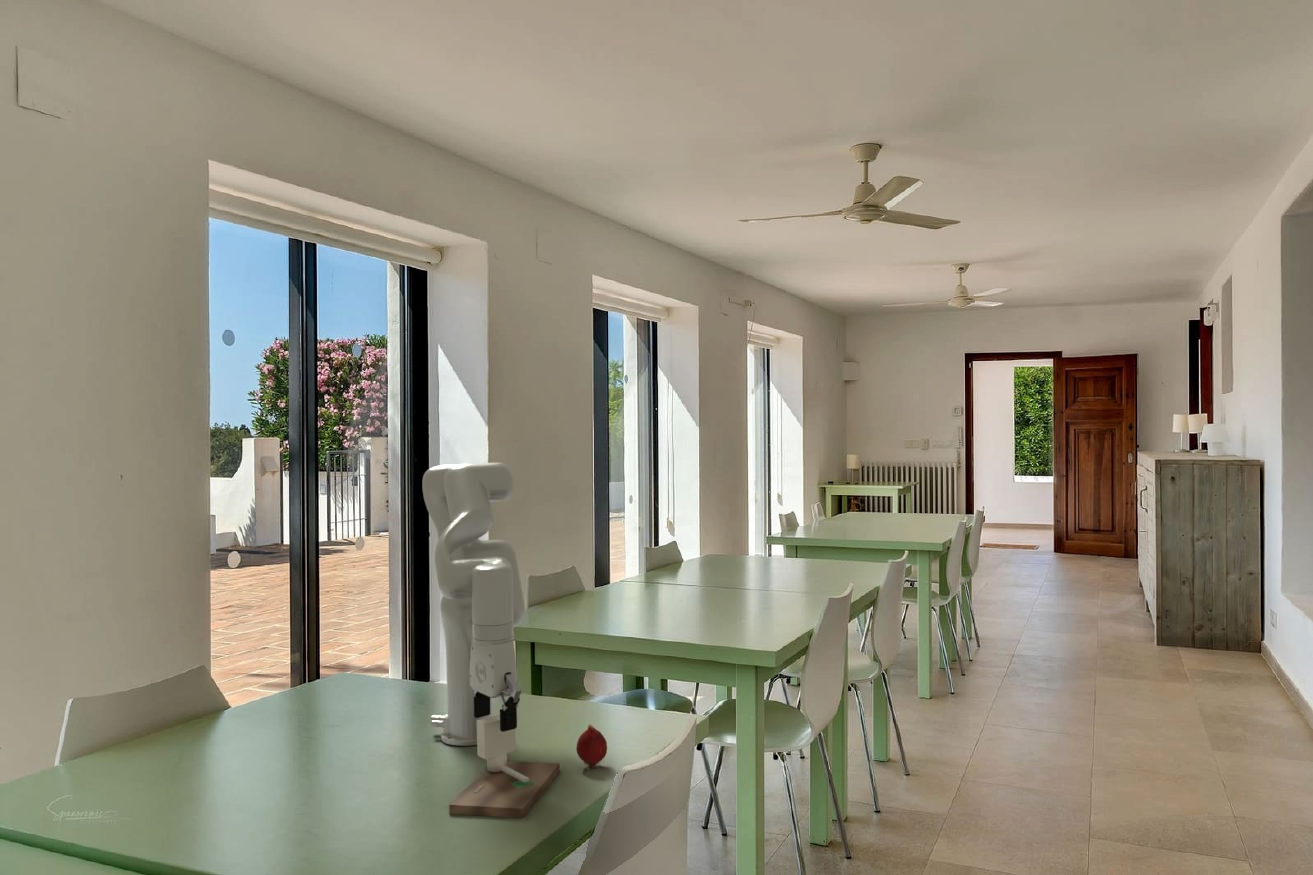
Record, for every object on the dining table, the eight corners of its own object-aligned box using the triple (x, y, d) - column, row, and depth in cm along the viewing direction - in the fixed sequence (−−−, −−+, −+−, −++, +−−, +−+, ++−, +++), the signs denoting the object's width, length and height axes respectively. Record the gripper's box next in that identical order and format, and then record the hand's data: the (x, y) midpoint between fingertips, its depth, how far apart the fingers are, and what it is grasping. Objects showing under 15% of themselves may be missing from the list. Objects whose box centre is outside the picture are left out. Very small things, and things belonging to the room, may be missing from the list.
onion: (612, 762, 175) (611, 721, 175) (600, 773, 169) (599, 730, 169) (584, 760, 177) (583, 718, 177) (572, 770, 171) (570, 728, 171)
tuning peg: (476, 770, 167) (475, 720, 167) (507, 761, 172) (506, 712, 172) (510, 789, 158) (509, 736, 158) (542, 779, 162) (540, 727, 162)
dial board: (449, 813, 153) (449, 804, 153) (494, 768, 173) (494, 759, 173) (523, 817, 150) (523, 808, 150) (559, 771, 171) (559, 762, 171)
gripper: (453, 626, 173) (455, 715, 173) (498, 643, 159) (500, 740, 160) (488, 620, 177) (490, 707, 178) (535, 636, 164) (537, 730, 164)
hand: (495, 722), depth 169 cm, fingers open, 9 cm apart
